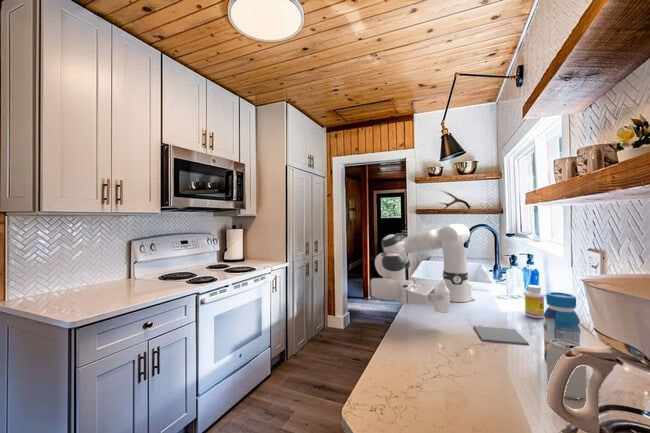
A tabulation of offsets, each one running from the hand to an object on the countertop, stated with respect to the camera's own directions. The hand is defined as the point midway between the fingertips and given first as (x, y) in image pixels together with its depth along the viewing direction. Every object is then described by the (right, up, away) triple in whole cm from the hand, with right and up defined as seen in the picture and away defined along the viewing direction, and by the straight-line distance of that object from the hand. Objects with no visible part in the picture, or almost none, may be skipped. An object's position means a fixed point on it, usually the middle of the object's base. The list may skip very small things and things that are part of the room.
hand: (444, 295), depth 115 cm
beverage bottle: (+23, -13, -28) cm, 38 cm away
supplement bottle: (+44, -13, +14) cm, 48 cm away
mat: (+17, -13, -7) cm, 22 cm away
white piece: (-1, -6, 0) cm, 6 cm away
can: (+13, -13, -42) cm, 46 cm away
